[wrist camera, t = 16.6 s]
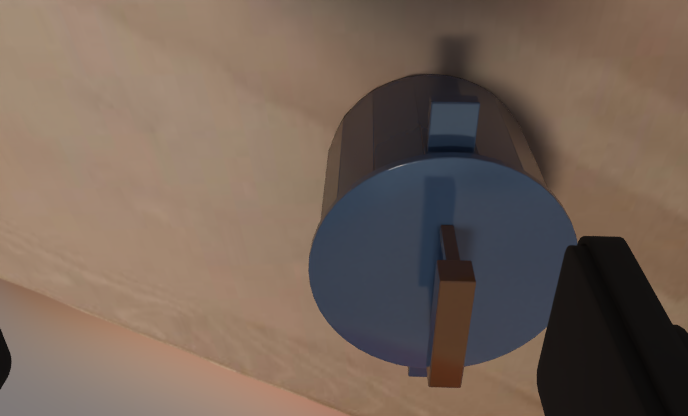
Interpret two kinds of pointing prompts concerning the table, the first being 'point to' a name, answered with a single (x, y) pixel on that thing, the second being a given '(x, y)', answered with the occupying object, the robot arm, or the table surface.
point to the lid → (440, 261)
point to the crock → (422, 132)
